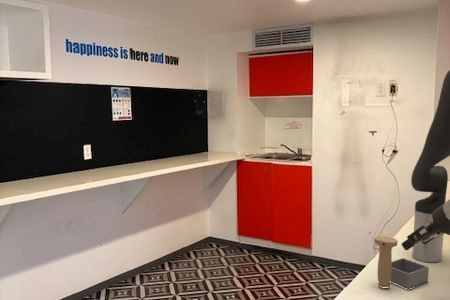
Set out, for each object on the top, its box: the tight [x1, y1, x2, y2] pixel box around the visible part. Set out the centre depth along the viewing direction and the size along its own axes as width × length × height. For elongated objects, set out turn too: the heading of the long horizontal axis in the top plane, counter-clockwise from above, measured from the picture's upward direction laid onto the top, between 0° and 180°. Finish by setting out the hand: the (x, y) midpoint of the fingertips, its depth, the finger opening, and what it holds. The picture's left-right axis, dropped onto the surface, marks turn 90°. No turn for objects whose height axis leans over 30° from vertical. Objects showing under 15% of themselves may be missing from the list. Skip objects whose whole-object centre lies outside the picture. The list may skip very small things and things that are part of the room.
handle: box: [374, 235, 399, 288], centre depth 127 cm, size 5×6×15 cm
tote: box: [391, 257, 430, 289], centre depth 132 cm, size 10×9×5 cm
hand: (413, 244), depth 119 cm, fingers open, 8 cm apart
